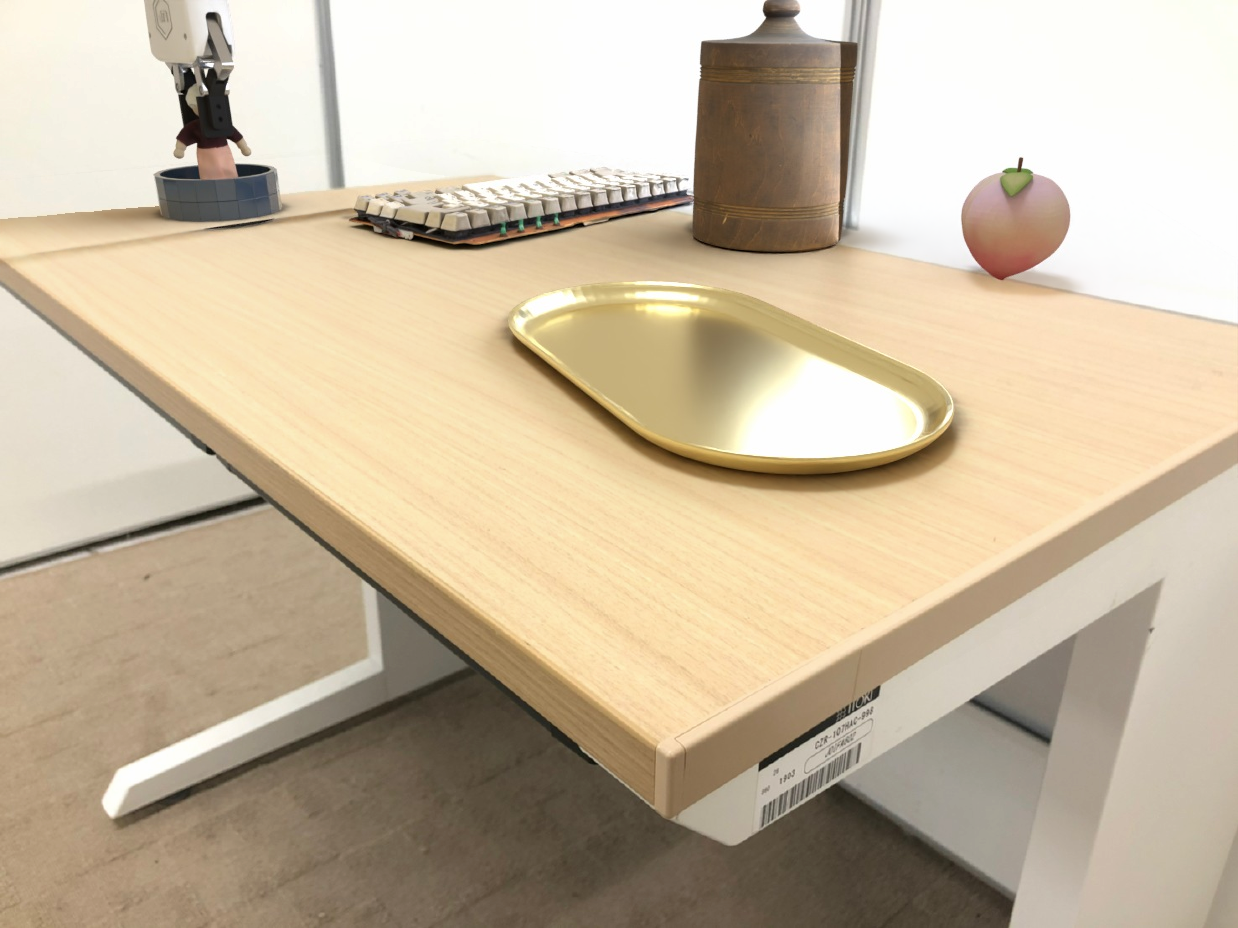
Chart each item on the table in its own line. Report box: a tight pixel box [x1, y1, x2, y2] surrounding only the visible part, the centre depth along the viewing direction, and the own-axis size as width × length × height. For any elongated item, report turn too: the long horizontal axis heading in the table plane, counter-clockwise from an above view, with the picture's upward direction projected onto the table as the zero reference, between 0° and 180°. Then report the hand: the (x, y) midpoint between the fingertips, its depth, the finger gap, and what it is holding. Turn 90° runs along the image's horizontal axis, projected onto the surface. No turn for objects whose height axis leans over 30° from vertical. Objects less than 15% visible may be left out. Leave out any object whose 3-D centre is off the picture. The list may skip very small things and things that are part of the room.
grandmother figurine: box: [172, 83, 252, 179], centre depth 105 cm, size 8×4×13 cm, turn 135°
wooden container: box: [691, 0, 859, 253], centre depth 95 cm, size 15×15×22 cm
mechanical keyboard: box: [348, 166, 694, 246], centre depth 110 cm, size 38×19×3 cm, turn 139°
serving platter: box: [507, 280, 955, 475], centre depth 62 cm, size 19×35×2 cm, turn 25°
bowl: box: [153, 162, 283, 230], centre depth 107 cm, size 12×12×5 cm
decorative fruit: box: [960, 156, 1071, 281], centre depth 82 cm, size 9×8×10 cm
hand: (209, 133), depth 104 cm, fingers closed on grandmother figurine, 3 cm apart
